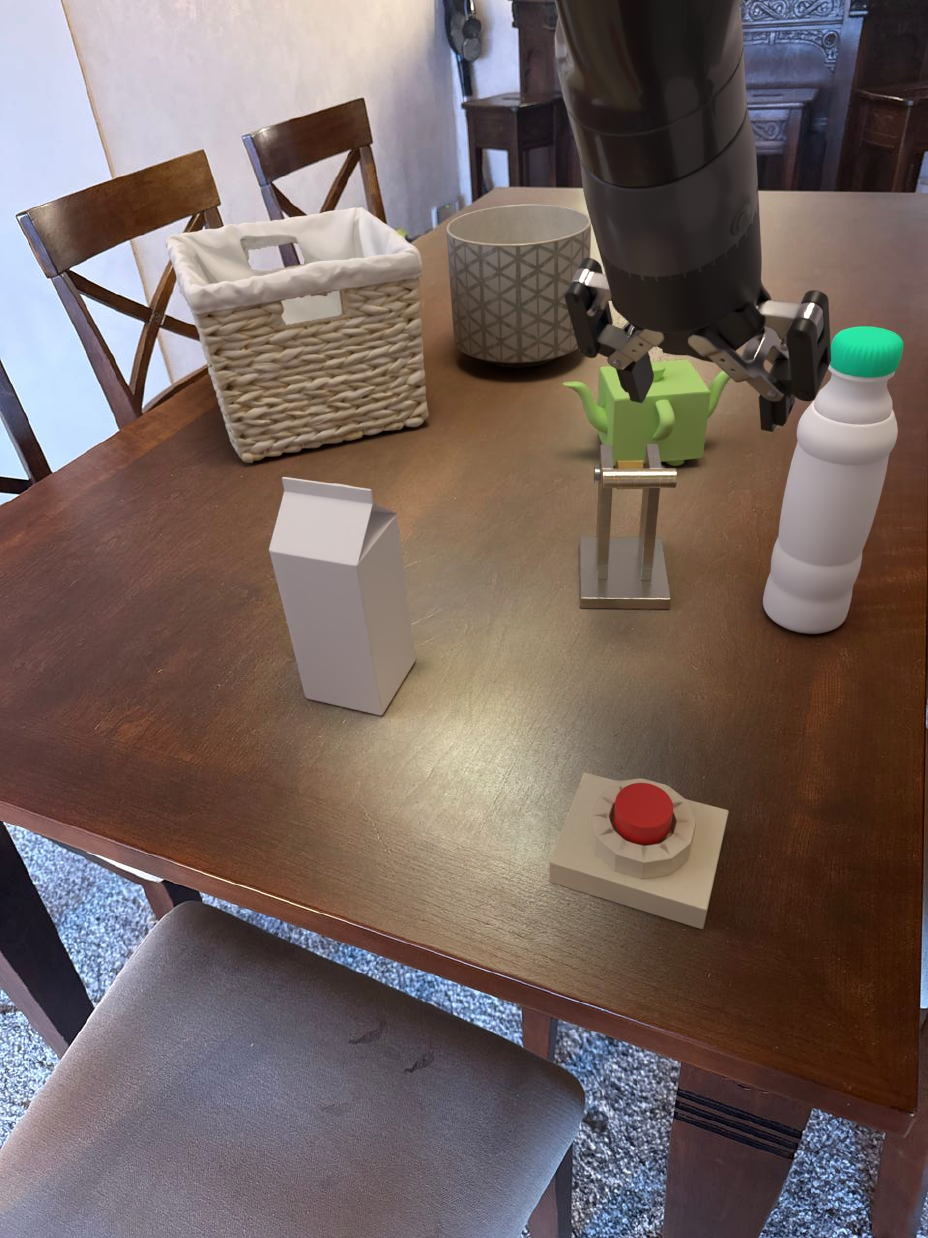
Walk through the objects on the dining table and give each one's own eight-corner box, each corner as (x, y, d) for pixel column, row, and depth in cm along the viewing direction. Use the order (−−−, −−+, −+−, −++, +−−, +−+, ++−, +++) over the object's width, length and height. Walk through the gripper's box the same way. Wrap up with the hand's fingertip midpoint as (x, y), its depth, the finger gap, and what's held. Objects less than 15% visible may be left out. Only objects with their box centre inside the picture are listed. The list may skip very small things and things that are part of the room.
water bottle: (862, 616, 75) (946, 335, 60) (809, 648, 73) (882, 362, 57) (797, 578, 80) (858, 309, 64) (744, 608, 77) (795, 333, 62)
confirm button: (607, 835, 55) (608, 818, 54) (621, 794, 57) (623, 776, 56) (664, 852, 54) (666, 834, 53) (676, 808, 56) (678, 790, 55)
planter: (470, 392, 116) (462, 251, 105) (444, 341, 131) (434, 213, 119) (605, 372, 118) (611, 232, 107) (564, 325, 133) (566, 197, 122)
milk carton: (383, 717, 69) (348, 516, 57) (305, 699, 72) (256, 502, 60) (417, 661, 74) (391, 465, 62) (343, 646, 77) (305, 454, 65)
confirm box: (548, 882, 57) (548, 845, 54) (583, 792, 62) (584, 754, 60) (703, 930, 53) (710, 893, 51) (724, 830, 59) (732, 792, 56)
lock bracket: (669, 609, 78) (683, 485, 70) (580, 608, 79) (584, 486, 71) (660, 546, 86) (672, 428, 77) (579, 546, 86) (582, 429, 78)
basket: (203, 388, 123) (160, 226, 109) (384, 353, 129) (364, 195, 115) (229, 474, 102) (180, 288, 89) (442, 427, 109) (427, 246, 95)
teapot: (733, 444, 101) (746, 356, 94) (681, 495, 93) (691, 403, 86) (618, 415, 108) (622, 331, 102) (560, 459, 100) (561, 372, 94)
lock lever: (676, 494, 65) (677, 462, 64) (602, 494, 65) (603, 462, 65) (659, 487, 76) (659, 460, 76) (596, 487, 77) (596, 460, 77)
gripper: (861, 154, 38) (843, 376, 52) (570, 133, 44) (625, 336, 58) (797, 294, 36) (797, 483, 50) (507, 251, 43) (579, 429, 57)
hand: (705, 404), depth 54 cm, fingers open, 8 cm apart
